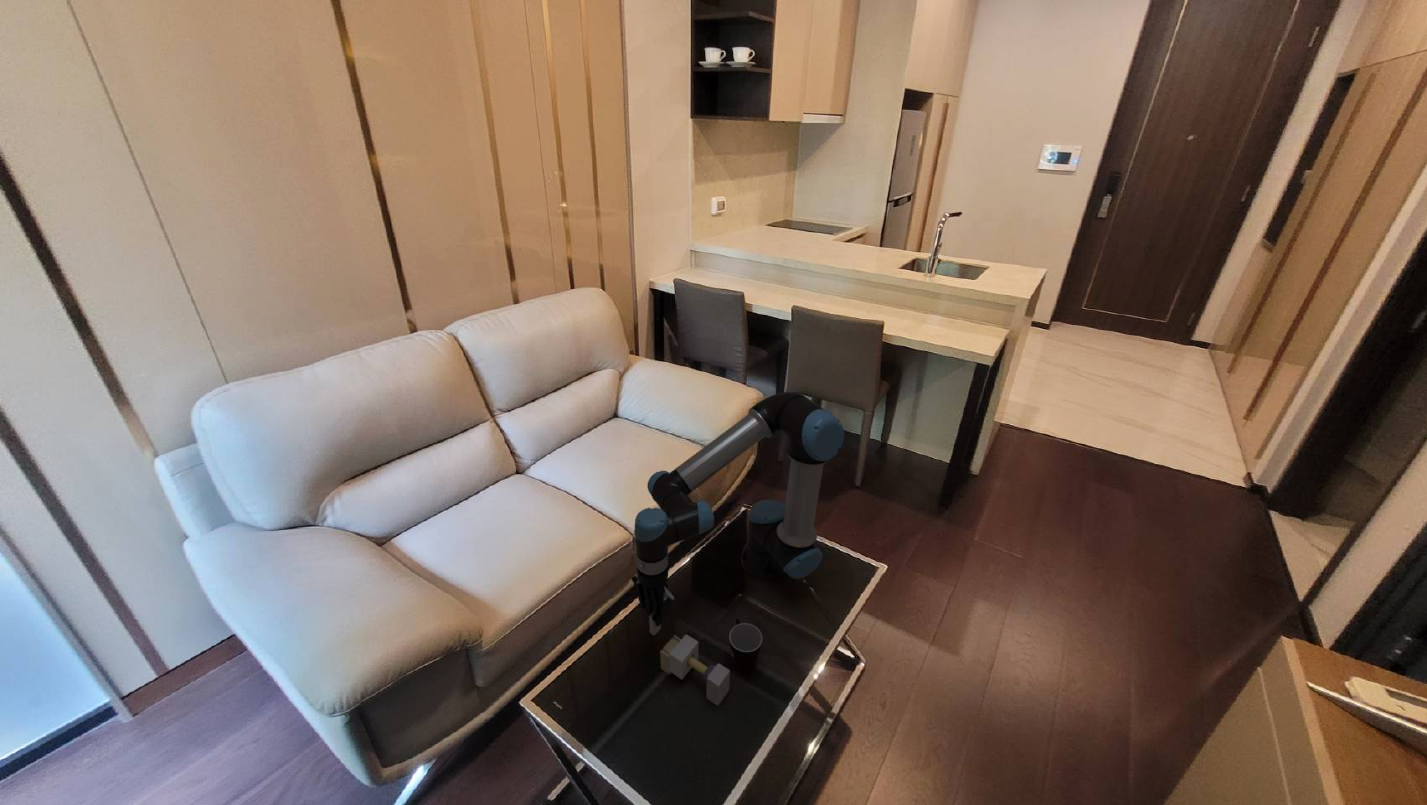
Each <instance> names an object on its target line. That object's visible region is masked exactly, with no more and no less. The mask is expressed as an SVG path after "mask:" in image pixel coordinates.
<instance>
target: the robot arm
mask: <svg viewBox="0 0 1427 805" xmlns="http://www.w3.org/2000/svg"><path fill="white" fill-rule="evenodd" d="M777 433H781V434H782V435H784V436H785V437H786V438H787V443H786V454H787V456H788V457H789V458H790V465H789V466H790V467H789V474H788V482H787V488H786V497H785V503H782V502H780V501H777V500H773V499H772V500H770V499H763V500H760V501H757V502H756V503H754V504H753V505H752V506H751V508H750V510H749V515H748V530H747V531H748V532H747V542H746V544H745V545H744V547H743V550H742V552H741V555H740V564H741V567H742V568H743V570H744V571H745V573H747V574H748V575H749V576H751V577H753V578H755V579H757V580H758V579H759V580H763V581H765V580H767V581H769V580H774V579H778V578H779V577H781V576H783V574H784V573H785V574H787V575H788V576H789V577H790V578H791V579H795V580H798V579H803V578H805V577H807V576H809V575H810V574H811V573H813V572H814V571H815V570H816V569H817V568H818V567H819V565H820V564H821V562H822V560H823V552H822V551H821V549H820V548H819V547H817V539H818V533H817V530H816V528H815V527H814V524H815V517H816V513H817V512H816V510H817V505H818V500H819V494H820V493H819V492H820V487H821V481H822V476H823V475H822V474H823V468H824V465H825V464H827V463H828V462H829V461H830V460H831V459H833V458H834V457H835V456H836V455H837V454H838V453H839V449H842V446H843V443H844V440H845V439H844V438H845V430H844V426H843V424H842V422H841V421H840V419H839V418H838V417H837V416H835V415H834V414H833V413H832V412H831V411H829V410H827V409H824V408H823V407H821V406H820V405H818V404H817V403H816V402H814V401H812V400H811V399H809V398H808V397H807V396H806V395H804V394H802V393H800V392H795V391H785V392H784V391H783V392H779V393H776V394H773V395H770V396H768V397H765V398H763V399H761V400H760V401H759V402H757V403H756V404H754V405H753V406H751V407H750V408H748V412H747V415H746V416H744V417H743V418H742V419H740V420H739V421H738V422H736V423H735V424H733V425H732V426H730V427H729V428H728V429H727V430H726V431H723V433H721V434H720V435H719V436H717V437H716V438H714V439H713V440H712V441H711V442H709V443H708V444H706V446H704V447H702V448H701V449H699V451H697V452H696V453H694V454H693V455H692V456H690V457H689V458H688V459H686V460H685V461H684V462H682V463H681V464H680V465H679V466H677V467H675V468H674V469H673V470H671V471H670V472H669V471H666V470H660V471H655V472H654V473H653V474H652V475H651V476H650V477H649V479H648V481H647V487H646V488H647V490H648V492H649V494H650V495H651V497H652V500H653V501H654V502H655V503H656V505H657V506H658V507H653V508H651V507H647V508H644V509H641V510H640V511H638V513H637V514H636V516H635V520H634V532H633V534H634V536H635V537H634V538H635V548H636V551H635V553H636V566H637V569H636V570H637V571H636V572H637V573H636V574H634V575H633V576H632V577H631V581H632V583H633V585H634V587H635V588H634V589H635V590H636V595H637V598H638V601H639V605H640V608H641V609H642V610H645V613H646V616H647V621H648V623H649V625H648V626H649V633H650V635H653V636H656V635H657V633H658V632H659V631H661V629H662V628H661V627H662V623H663V621H664V620H665V619H666V618H667V617H668V616H669V615H670V611H671V608H672V605H673V601H674V599H676V597H677V594H676V593H675V592H673V593H672V592H671V591H669V585H668V583H667V582H668V579H669V578H668V577H669V554H668V553H669V551H668V550H669V548H668V547H669V546H671V545H675V544H677V543H679V542H682V541H685V540H688V539H690V538H694V537H696V536H700V535H701V534H703V533H705V532H708V531H710V530H712V529H713V528H714V525H715V516H714V512H713V509H712V507H711V505H710V504H709V503H708V502H707V501H705V500H698V501H695V502H694V501H693V500H692V499H691V497H690V496H689V495H690V494H691V493H692V492H693V491H695V490H696V489H697V488H698V487H700V486H701V485H702V484H704V483H705V482H706V481H708V480H709V479H710V478H712V477H713V476H714V475H716V474H717V473H719V472H720V471H721V470H722V469H724V468H725V467H726V466H728V465H729V464H730V463H732V462H734V460H736V459H737V458H739V457H740V456H741V455H742V454H744V453H745V452H746V451H748V450H749V449H751V448H752V447H753V446H754V445H756V444H757V443H758V442H760V441H761V440H762V439H764V438H765V437H766V438H771V437H772V436H774V435H775V434H777ZM663 597H664V598H663Z"/></svg>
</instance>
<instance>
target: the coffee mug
mask: <svg viewBox="0 0 1427 805" xmlns="http://www.w3.org/2000/svg"><path fill="white" fill-rule="evenodd" d="M735 623H736V625H735V626H733V627H732V628H731V629H730V631H729V636H728V639H729V646H730V654H731V655H730V657H731V663H732V666H733V668H734V669H735V670H736V671H737V672H738V673H741V674H746V673H751V672H753V670H754V669H755V668H756V665H757V661H758V658H759V653H760V650H761V646H762V642H763V634H762V632H761V630H760V629H759V628H758V627H757V626H756V625H754V624H751V623H747V622H746V623H745V622H744V623H741V621H740V619H739V618H738V617H737V618H736V619H735Z"/></svg>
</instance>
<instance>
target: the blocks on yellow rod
mask: <svg viewBox="0 0 1427 805" xmlns="http://www.w3.org/2000/svg"><path fill="white" fill-rule="evenodd" d="M681 640H682V639H681V638H680V637H678V636H677V635H675V634H674V635H673V636H672V638H670V640H669V641H668V642H667V643H666V644H665V646H663V647H662V648H661V649H660V651H659V653H660V654H659V655H660V658H659V659H660V669H661V670H662V671H664V672H665V673H666V674H668V675H671V674H673V673H672V672H670V661H669V653H670V652H671V651H672V650H673V649H674V648H675V646H676V645H677V644H678V643H679V642H680V641H681ZM687 664H688V665H690V666H691V667H692V669H694V670H696V671H697V672H699V673H700V674H702V675H703V677H702V679H703V681H704V682H706V696H705V697H706V699H707V700H708V701H710V702H711V703H712V704H714V705H715V706H717V707H719V705H720V704H721V703H722V701H723V699H725V697H726V696H727V694H728V693H729V691H730V681H731V680H730V678H731V670H730V669H729V668H727V667H725V666H723V665H722V664H720V663H717V664H716V665H713V664H709V665H708V666H707V665H705V664H704V663H702V662H700V661H699V659H698V660H696V659H695V658H693V657H692V656H691V657H690V658H689V659H688V660H687Z"/></svg>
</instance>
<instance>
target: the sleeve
mask: <svg viewBox="0 0 1427 805" xmlns="http://www.w3.org/2000/svg"><path fill="white" fill-rule="evenodd" d="M691 656H692V657H693V658H695V659H696V660H698V661H699V641H697V640H696V639H695V638H693V637H692V636H690V635H688V634H687V633H686V634H684V636H683V637H682V640H681V641H680V642H679V643H678V644H677V645H676V646H675V648H674V649H673V650H672V651H671V652H670V653H669V661H670V672H672V673H671V674H673V675H674V676H676V677H678V678H679V679H680V680H683V679H684V678H685V677H686V676H687V674H688V673H689V672H690V671H691V670H692V669H693V667H691V666H690V665H688V664H687V660H688V659H689V658H690V657H691Z"/></svg>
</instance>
